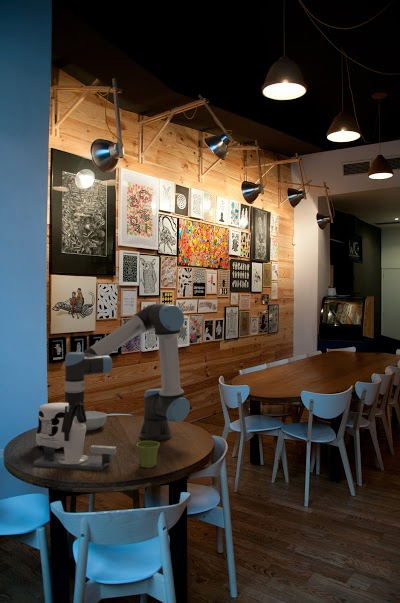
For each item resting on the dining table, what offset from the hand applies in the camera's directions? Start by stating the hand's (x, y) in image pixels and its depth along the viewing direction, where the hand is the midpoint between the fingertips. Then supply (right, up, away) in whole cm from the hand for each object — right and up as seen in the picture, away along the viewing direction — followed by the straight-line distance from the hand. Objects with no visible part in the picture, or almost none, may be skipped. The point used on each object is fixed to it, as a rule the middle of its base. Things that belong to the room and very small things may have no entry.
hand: (74, 443), depth 198 cm
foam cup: (0, -6, 0) cm, 6 cm away
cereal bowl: (-6, -8, +53) cm, 54 cm away
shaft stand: (0, -8, 0) cm, 8 cm away
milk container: (-14, -8, +22) cm, 27 cm away
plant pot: (+30, -9, -1) cm, 31 cm away
